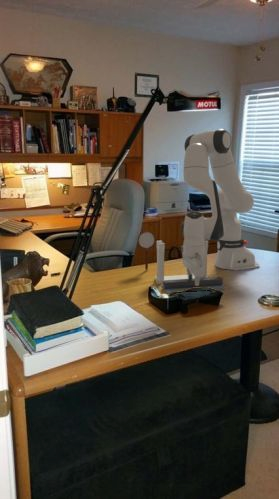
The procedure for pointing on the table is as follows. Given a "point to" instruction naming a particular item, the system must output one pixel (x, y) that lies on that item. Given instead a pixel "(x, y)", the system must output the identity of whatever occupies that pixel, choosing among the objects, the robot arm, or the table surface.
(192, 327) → the table surface
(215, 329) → the table surface
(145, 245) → the magnifying glass
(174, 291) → the mat
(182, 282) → the rail
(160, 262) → the frame
